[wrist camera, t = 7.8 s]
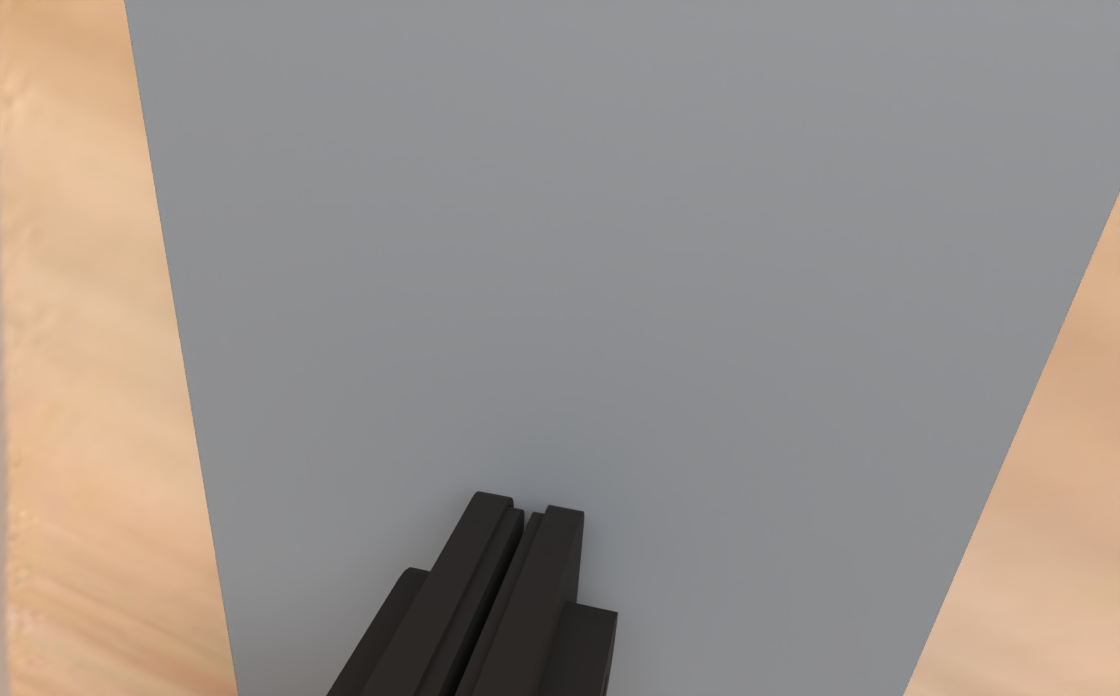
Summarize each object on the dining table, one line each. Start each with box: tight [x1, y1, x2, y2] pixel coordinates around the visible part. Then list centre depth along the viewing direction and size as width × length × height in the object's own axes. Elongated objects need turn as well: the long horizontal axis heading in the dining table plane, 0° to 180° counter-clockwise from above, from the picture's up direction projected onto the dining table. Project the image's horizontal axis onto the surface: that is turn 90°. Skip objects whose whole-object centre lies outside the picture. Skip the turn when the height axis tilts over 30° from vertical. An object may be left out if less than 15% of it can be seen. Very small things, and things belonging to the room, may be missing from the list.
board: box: [124, 0, 1120, 696], centre depth 12 cm, size 12×24×6 cm, turn 175°
